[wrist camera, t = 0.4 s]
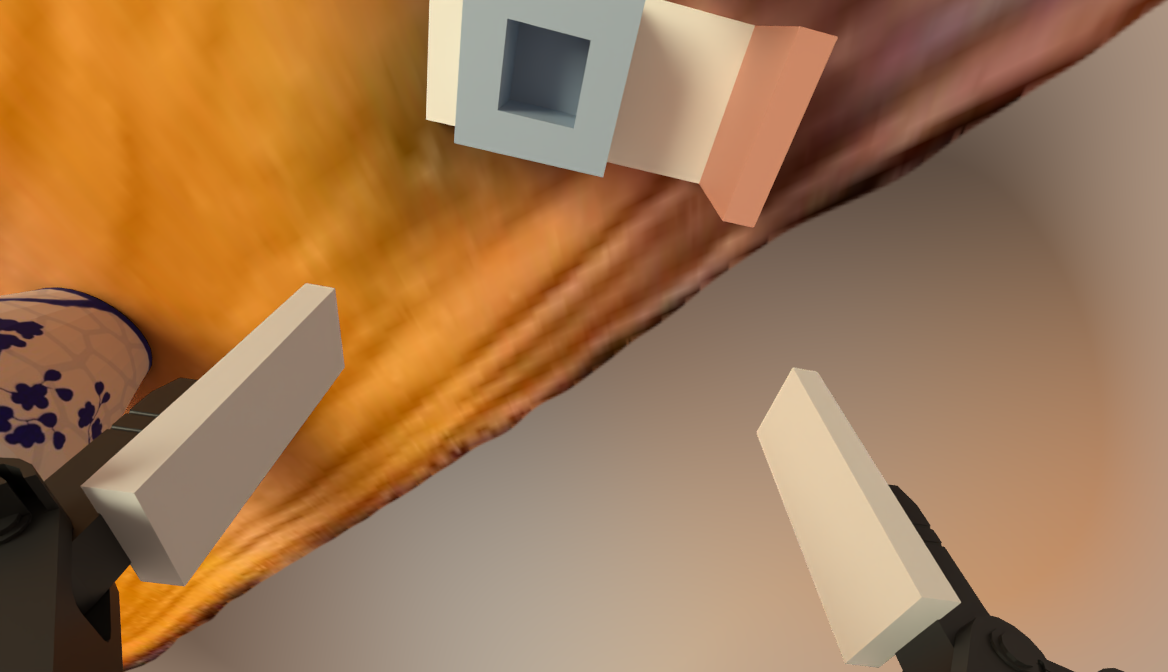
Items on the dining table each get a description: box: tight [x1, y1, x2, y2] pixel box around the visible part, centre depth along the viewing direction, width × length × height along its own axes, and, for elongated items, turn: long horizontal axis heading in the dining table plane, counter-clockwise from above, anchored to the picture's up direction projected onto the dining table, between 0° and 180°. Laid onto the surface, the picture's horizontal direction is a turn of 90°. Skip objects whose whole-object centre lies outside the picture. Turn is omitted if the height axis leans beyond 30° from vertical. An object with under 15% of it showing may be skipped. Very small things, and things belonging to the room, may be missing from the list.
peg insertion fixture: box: [426, 0, 838, 228], centre depth 28 cm, size 10×22×9 cm, turn 77°
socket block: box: [454, 0, 645, 177], centre depth 28 cm, size 9×9×6 cm
